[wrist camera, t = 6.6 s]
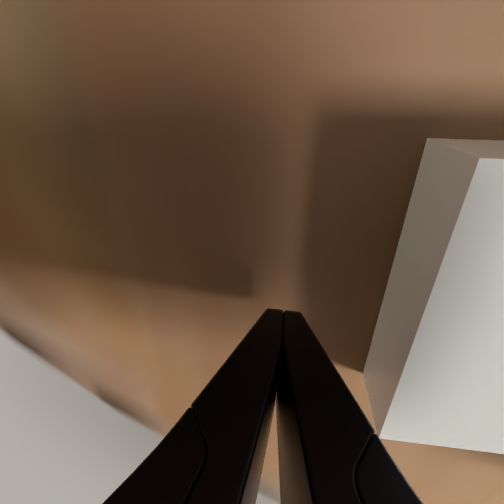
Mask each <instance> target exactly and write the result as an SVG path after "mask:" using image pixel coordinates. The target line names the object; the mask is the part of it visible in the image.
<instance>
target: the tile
mask: <svg viewBox="0 0 504 504" xmlns="http://www.w3.org/2000/svg"><path fill="white" fill-rule="evenodd" d="M363 375H364V379H365V384H366V388H367V392H368V396H369V400H370V404H371V409H372V413H373V417H374V421H375V425H376V429H377V434H378V436H379V438H380V439H388V440H396V441H404V442H412V443H420V444H428V445H436V446H443V447H451V448H459V449H467V450H475V451H483V452H491V453H499V454H504V140H473V139H439V138H427V140H426V144H425V148H424V151H423V155H422V159H421V162H420V166H419V170H418V173H417V177H416V181H415V184H414V188H413V192H412V195H411V199H410V203H409V206H408V210H407V214H406V217H405V221H404V225H403V228H402V232H401V236H400V239H399V243H398V247H397V250H396V254H395V257H394V261H393V265H392V268H391V272H390V276H389V279H388V283H387V287H386V290H385V294H384V298H383V301H382V305H381V309H380V312H379V316H378V320H377V323H376V327H375V331H374V334H373V338H372V342H371V345H370V349H369V353H368V356H367V360H366V364H365V367H364V371H363Z"/></svg>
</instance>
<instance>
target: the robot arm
mask: <svg viewBox="0 0 504 504" xmlns="http://www.w3.org/2000/svg"><path fill="white" fill-rule="evenodd" d="M276 392H277V395H276ZM275 400H276V412H277V434H278V455H279V476H280V498H281V504H423V503H422V501H421V500H420V499H419V497H418V496H417V494H416V493H415V492H414V490H413V489H412V487H411V486H410V485H409V483H408V482H407V480H406V479H405V477H404V476H403V474H402V472H401V471H400V469H399V468H398V466H397V465H396V463H395V462H394V460H393V459H392V457H391V456H390V454H389V453H388V451H387V449H386V448H385V446H384V445H383V443H382V441H381V440H380V438H379V436H378V435H377V434H374V433H375V431H374V429H373V427H372V426H371V424H370V422H369V421H368V419H367V418H366V416H365V414H364V413H363V411H362V410H361V408H360V406H359V405H358V403H357V402H356V400H355V398H354V397H353V395H352V394H351V392H350V390H349V389H348V387H347V386H346V384H345V382H344V381H343V379H342V378H341V376H340V374H339V373H338V371H337V370H336V368H335V366H334V365H333V363H332V362H331V360H330V358H329V357H328V355H327V354H326V352H325V350H324V349H323V347H322V346H321V344H320V342H319V341H318V339H317V338H316V336H315V335H314V333H313V331H312V330H311V328H310V327H309V325H308V323H307V322H306V320H305V319H304V317H303V315H302V314H301V313H300V312H297V311H288V310H286V311H284V313H283V311H282V310H279V309H270V308H269V309H266V311H265V312H264V313H263V314H262V316H261V317H260V318H259V319H258V321H257V322H256V323H255V324H254V326H253V327H252V328H251V330H250V331H249V332H248V333H247V335H246V336H245V337H244V338H243V340H242V341H241V342H240V343H239V345H238V346H237V347H236V349H235V350H234V351H233V352H232V354H231V355H230V356H229V357H228V359H227V360H226V361H225V363H224V364H223V365H222V366H221V368H220V369H219V370H218V371H217V373H216V374H215V375H214V376H213V378H212V379H211V380H210V382H209V383H208V384H207V385H206V387H205V388H204V389H203V390H202V392H201V393H200V394H199V396H198V397H197V398H196V399H195V401H194V402H193V403H192V405H191V408H188V409H187V410H186V412H185V413H184V414H183V416H182V417H181V418H180V419H179V421H178V422H177V423H176V424H175V426H174V427H173V428H172V429H171V430H170V432H169V433H168V434H167V435H166V436H165V437H164V439H163V440H162V441H161V442H160V444H159V445H158V446H157V447H156V448H155V449H154V450H153V451H152V452H151V453H150V455H149V456H148V457H147V458H146V459H145V460H144V461H143V462H142V463H141V464H140V465H139V466H138V468H136V470H135V471H134V472H133V473H132V474H131V475H130V476H129V477H128V478H127V479H126V480H125V481H124V482H123V483H122V484H121V485H120V486H119V487H118V488H117V489H116V490H115V491H114V492H113V493H112V494H111V495H110V497H108V498H107V500H105V501H104V503H103V504H255V503H256V498H257V493H258V488H259V483H260V478H261V473H262V468H263V463H264V458H265V453H266V447H267V442H268V437H269V432H270V427H271V422H272V417H273V412H274V406H275Z"/></svg>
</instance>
